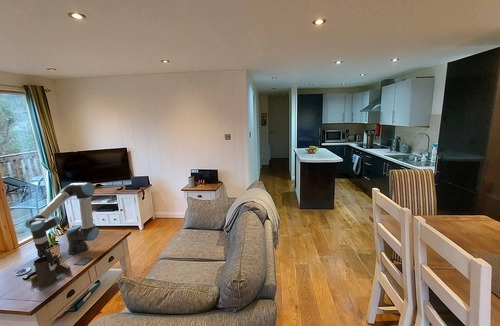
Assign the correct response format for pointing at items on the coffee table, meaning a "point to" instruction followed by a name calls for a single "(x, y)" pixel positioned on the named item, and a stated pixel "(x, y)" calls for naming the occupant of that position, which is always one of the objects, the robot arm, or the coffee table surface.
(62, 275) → the pad
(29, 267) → the coffee table surface
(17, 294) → the coffee table surface
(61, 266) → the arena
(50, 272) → the beer stein
